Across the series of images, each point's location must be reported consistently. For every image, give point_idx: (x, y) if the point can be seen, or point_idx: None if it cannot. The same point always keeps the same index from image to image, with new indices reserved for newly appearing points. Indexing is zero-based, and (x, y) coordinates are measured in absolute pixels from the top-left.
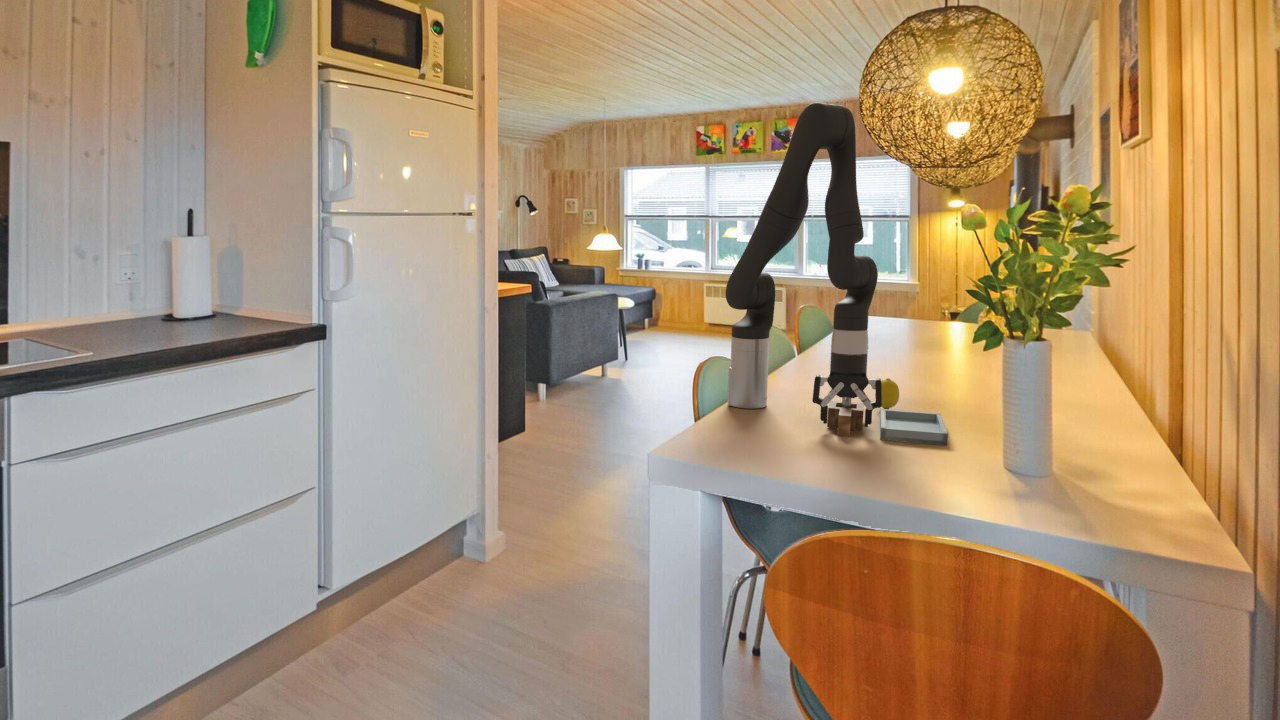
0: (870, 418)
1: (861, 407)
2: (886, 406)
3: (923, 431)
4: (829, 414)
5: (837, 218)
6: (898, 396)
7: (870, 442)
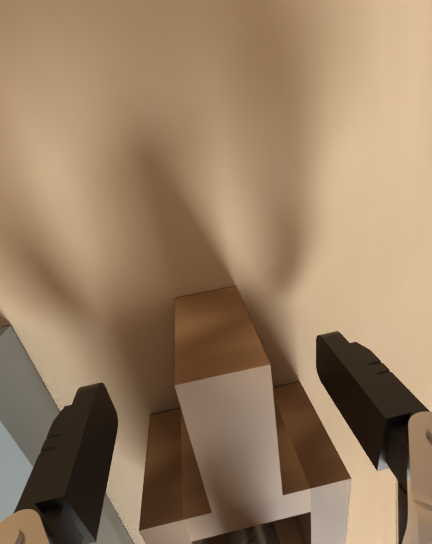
0: (50, 443)
1: None
2: None
3: None
4: (322, 441)
5: None
6: None
7: (33, 248)
